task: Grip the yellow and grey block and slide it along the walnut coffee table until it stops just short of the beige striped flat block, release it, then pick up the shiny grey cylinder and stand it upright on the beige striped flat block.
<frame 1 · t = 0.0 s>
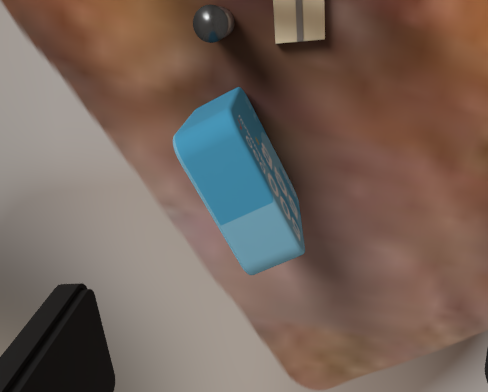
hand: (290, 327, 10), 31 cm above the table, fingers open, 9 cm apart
data package: (249, 152, 42), on the table
beige striped flat block: (298, 8, 37), on the table
shiny grey cylinder: (220, 22, 37), on the table
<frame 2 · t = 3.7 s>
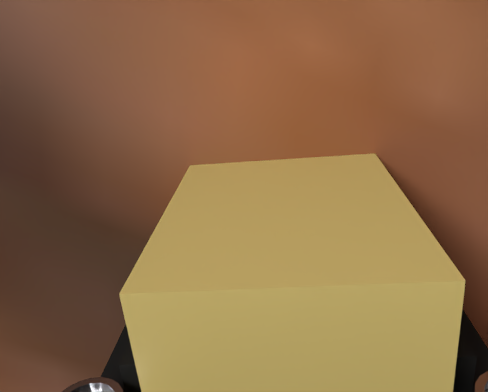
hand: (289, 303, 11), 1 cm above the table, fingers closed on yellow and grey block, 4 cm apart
yellow and grey block: (288, 281, 12), on the table, touching gripper
when the fingers open (1 cm above the table, at t = 5.6 s): yellow and grey block stays where it is, on the table.
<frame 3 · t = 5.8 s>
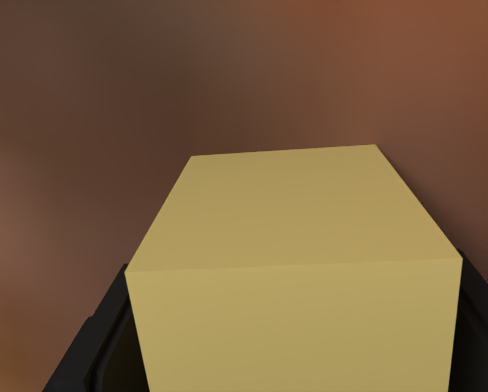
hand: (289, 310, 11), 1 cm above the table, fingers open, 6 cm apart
yellow and grey block: (288, 271, 12), on the table
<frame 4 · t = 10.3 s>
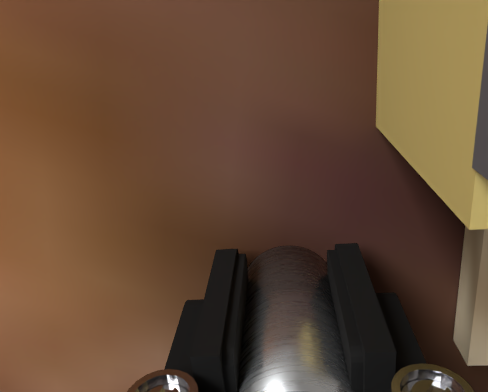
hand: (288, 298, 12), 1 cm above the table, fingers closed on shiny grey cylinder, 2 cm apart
shiny grey cylinder: (288, 284, 12), on the table, touching gripper
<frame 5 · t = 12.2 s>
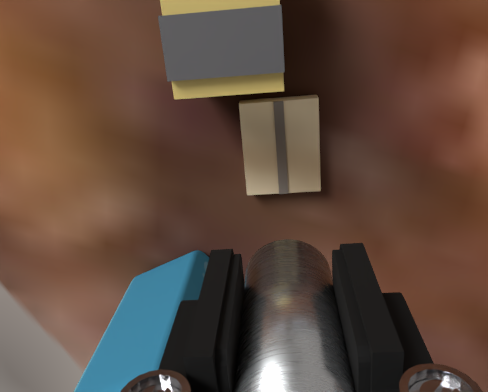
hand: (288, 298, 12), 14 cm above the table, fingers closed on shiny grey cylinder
data package: (215, 323, 30), on the table
beige striped flat block: (280, 143, 24), on the table
yellow and grey block: (232, 3, 22), on the table
shiny grey cylinder: (287, 277, 13), point 13 cm above the table, touching gripper
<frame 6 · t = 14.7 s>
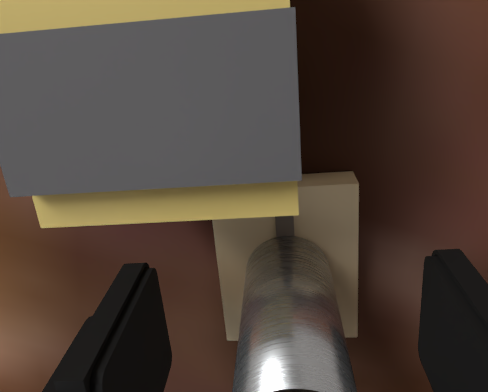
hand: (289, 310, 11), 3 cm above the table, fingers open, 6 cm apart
beige striped flat block: (286, 251, 14), on the table
yellow and grey block: (194, 4, 11), on the table
shiny grey cylinder: (287, 273, 13), point 1 cm above the table, touching beige striped flat block
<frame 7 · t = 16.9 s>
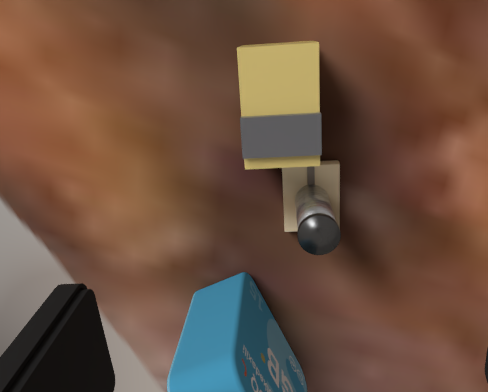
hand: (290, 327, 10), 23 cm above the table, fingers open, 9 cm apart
data package: (253, 329, 38), on the table
beige striped flat block: (310, 194, 33), on the table
yellow and grey block: (279, 96, 31), on the table
shiny grey cylinder: (311, 200, 32), point 1 cm above the table, touching beige striped flat block
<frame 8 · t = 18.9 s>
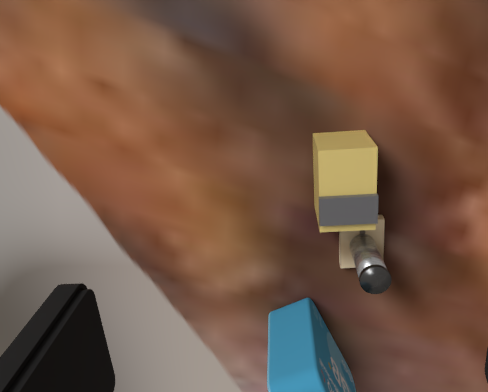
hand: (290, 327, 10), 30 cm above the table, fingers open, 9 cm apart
data package: (311, 339, 48), on the table
beige striped flat block: (360, 239, 43), on the table
yellow and grey block: (338, 169, 41), on the table
shiny grey cylinder: (362, 245, 42), point 1 cm above the table, touching beige striped flat block
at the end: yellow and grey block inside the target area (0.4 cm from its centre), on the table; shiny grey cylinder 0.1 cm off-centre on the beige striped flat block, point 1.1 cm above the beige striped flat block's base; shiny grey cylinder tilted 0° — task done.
